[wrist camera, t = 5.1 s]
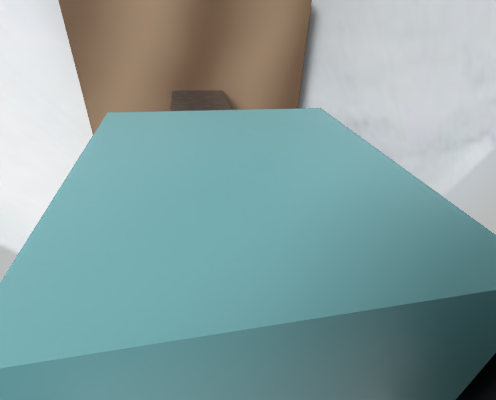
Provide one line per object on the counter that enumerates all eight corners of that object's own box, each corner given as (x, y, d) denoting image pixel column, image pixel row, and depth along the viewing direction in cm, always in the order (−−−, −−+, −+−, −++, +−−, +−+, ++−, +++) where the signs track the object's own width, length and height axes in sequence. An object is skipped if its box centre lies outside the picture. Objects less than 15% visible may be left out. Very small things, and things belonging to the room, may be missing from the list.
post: (222, 90, 17) (235, 119, 13) (223, 137, 19) (234, 176, 14) (171, 90, 17) (168, 120, 12) (176, 138, 18) (175, 179, 14)
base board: (305, -4, 16) (312, -4, 15) (282, 188, 23) (286, 195, 22) (61, -16, 14) (54, -17, 13) (114, 198, 21) (111, 207, 20)
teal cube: (320, 107, 9) (557, 279, 3) (296, 256, 12) (396, 468, 6) (107, 112, 8) (-59, 377, 2) (142, 273, 11) (108, 547, 5)
